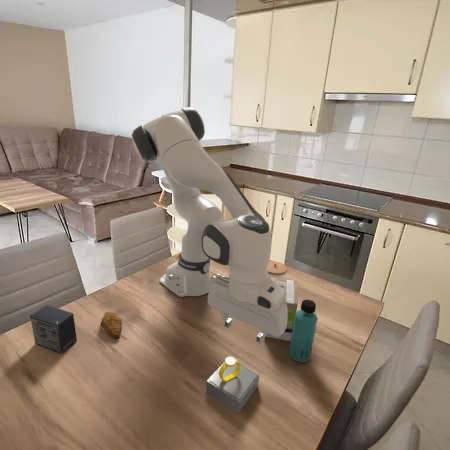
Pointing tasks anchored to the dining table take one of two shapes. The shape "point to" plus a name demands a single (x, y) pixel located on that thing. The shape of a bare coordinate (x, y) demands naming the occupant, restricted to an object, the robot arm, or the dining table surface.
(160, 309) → the dining table surface
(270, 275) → the lidded jar
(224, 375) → the base
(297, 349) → the beverage bottle
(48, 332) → the small box
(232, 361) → the yellow ring-shaped piece
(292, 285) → the tea box
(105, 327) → the croissant
